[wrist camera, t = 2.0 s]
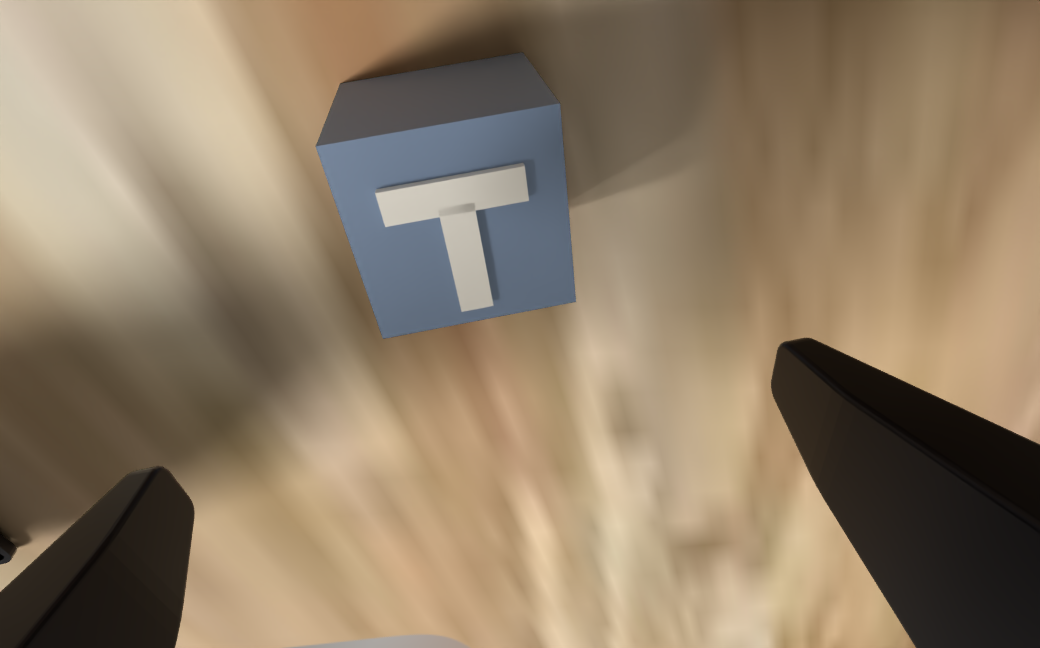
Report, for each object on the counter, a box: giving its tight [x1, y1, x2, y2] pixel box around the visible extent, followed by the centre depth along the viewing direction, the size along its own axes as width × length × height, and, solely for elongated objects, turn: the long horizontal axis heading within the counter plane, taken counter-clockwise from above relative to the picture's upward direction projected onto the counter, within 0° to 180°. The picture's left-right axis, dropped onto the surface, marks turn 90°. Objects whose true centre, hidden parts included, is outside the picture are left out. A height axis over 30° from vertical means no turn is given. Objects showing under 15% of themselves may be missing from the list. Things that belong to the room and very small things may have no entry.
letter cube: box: [316, 52, 576, 339], centre depth 15 cm, size 5×5×5 cm
